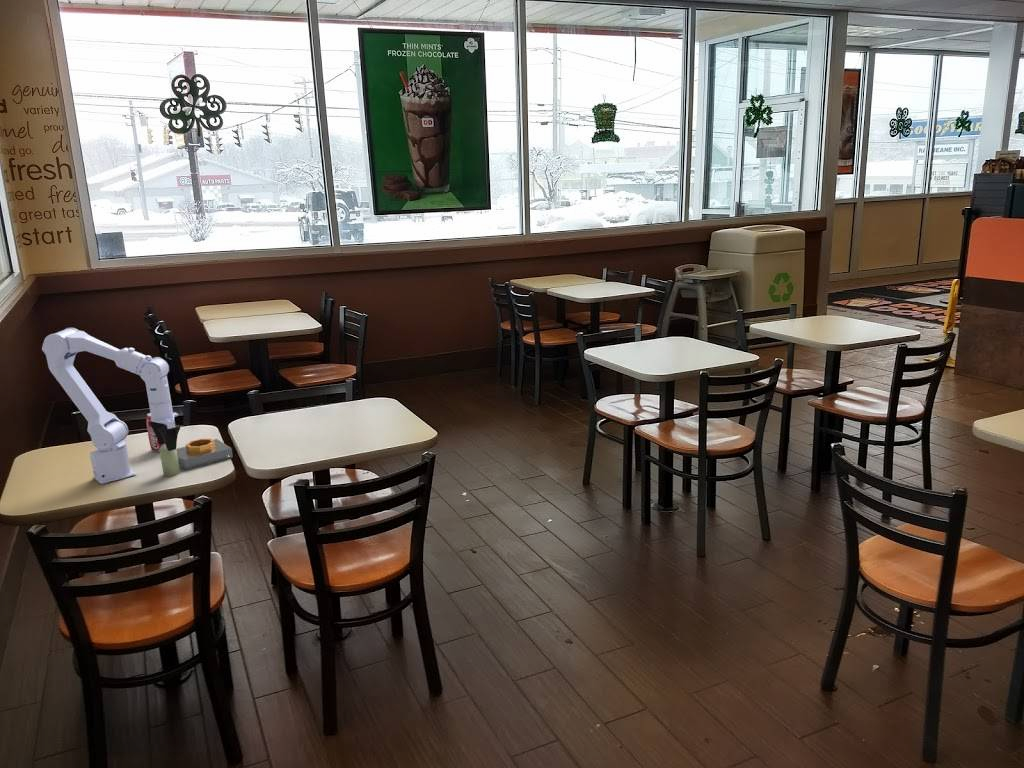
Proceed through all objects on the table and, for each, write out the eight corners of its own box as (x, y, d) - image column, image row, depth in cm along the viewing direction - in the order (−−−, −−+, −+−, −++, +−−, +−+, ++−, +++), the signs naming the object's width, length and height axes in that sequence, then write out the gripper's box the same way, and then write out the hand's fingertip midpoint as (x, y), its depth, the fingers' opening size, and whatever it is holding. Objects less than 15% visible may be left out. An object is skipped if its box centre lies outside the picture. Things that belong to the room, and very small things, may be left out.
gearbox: (185, 469, 228) (183, 453, 227) (169, 457, 239) (166, 441, 238) (232, 457, 237) (230, 441, 235) (214, 445, 248) (212, 430, 247)
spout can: (166, 477, 223) (161, 447, 220) (161, 473, 226) (156, 443, 223) (182, 473, 225) (177, 443, 223) (177, 469, 229) (172, 439, 226)
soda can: (145, 452, 244) (139, 415, 241) (161, 444, 251) (155, 409, 248) (164, 454, 242) (158, 417, 239) (180, 446, 249) (174, 410, 246)
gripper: (183, 403, 217) (190, 449, 221) (166, 393, 228) (173, 437, 231) (156, 408, 213) (164, 455, 216) (140, 398, 223) (148, 443, 227)
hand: (167, 446), depth 223 cm, fingers open, 7 cm apart
